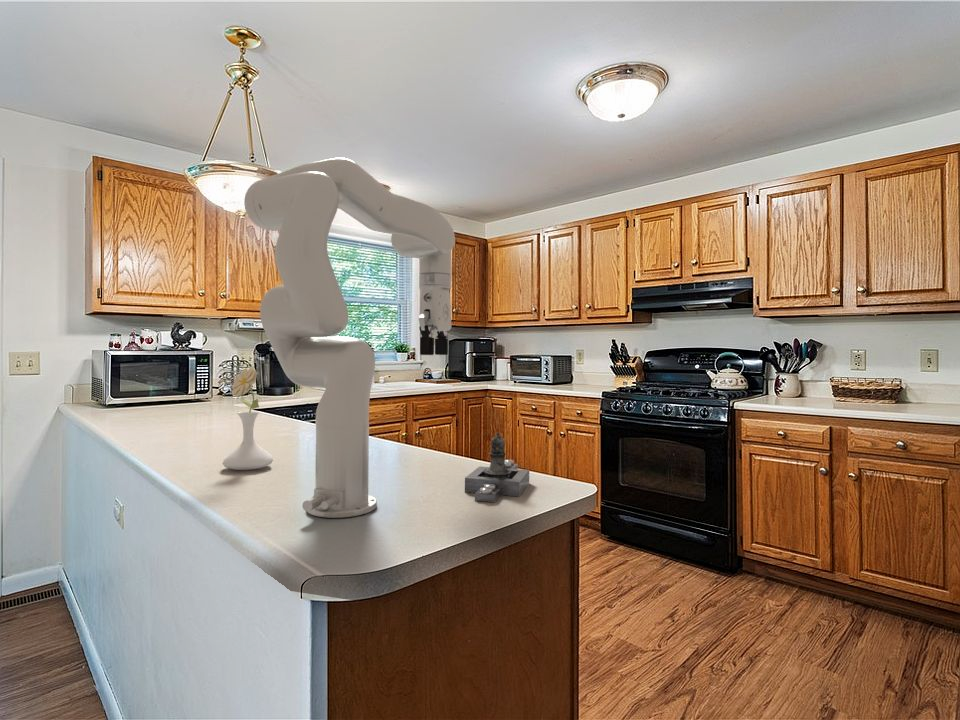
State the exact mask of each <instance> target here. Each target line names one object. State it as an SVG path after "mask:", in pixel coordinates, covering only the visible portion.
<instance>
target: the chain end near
mask: <svg viewBox="0 0 960 720" xmlns="http://www.w3.org/2000/svg"><path fill="white" fill-rule="evenodd" d="M485 477H486V476H485ZM509 479H512V477H509ZM529 484H530V477H529V478H528V479H527V480H526V482H525V483H524V484H523V485H522V487H521V488H520V489H508V488H495V486H496V485H494V484H485V485H484V487H483V486H471V485H465V484H464V493H468V492H473V493H472V494H474V501H475V502H482V501H487V502H486V503H493V502H495V501H496V502H497V501H498V500H499V498H501V497H502V496H503V495H508V496H507V497H515V496H519V497H520V496H521V495H522V494H523V493H524V491H525V490H526V489H527V487H528V486H529ZM527 485H528V486H527ZM526 486H527V487H526ZM524 489H525V490H524ZM521 493H522V494H521ZM496 502H495V503H496Z"/></svg>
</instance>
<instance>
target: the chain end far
mask: <svg viewBox="0 0 960 720" xmlns="http://www.w3.org/2000/svg"><path fill="white" fill-rule="evenodd" d="M518 464H519V463H515V461H514V460H513V459H505V467H506V469H508V470H510V471H511V473H510V476H509V477H512V479H505V478H491V477H485V473H484V470H486V469H488V468H489V467H490V466H482V465H481V466H478V467H477V468H475V469H474V470H473V471H472V472H471V473H469V474H467V476H465V477H464V486H465V485H471V486H483V487H484V485H485V484H494V485H496V486H495V488H508V489H520V488H521V487H522V485H523V484H524V483H525V482H526V480H527V479H528V478H529V479H530V469H520V468H519V465H518Z"/></svg>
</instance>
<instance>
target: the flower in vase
mask: <svg viewBox="0 0 960 720" xmlns="http://www.w3.org/2000/svg"><path fill="white" fill-rule="evenodd" d="M257 375H258V372H257V370H256V369H255V367H252V366H250V367H249V368H247V367H244V369H243V370H241V372H240V373H238V374H236V378H235V379H234V382H233V384H232V385H231V388H232V390H231V395H233V396H234V397H235V398H237V397H238V398H239V397H241V398H240V399H241V400H240V401H241V403H243V404H244V405H246V406H247V407H249V410H244V411H238V412H237V415H238V416H239V418H240V420H241V422H242V430H243V431H242V433H243V434H242V435H243V437H242V441H241V444H240V445H238V447H236V448H235V449H234V450H232V452H230V453H229V454H228V455H227V456H226V457H225V458H224V459H223V462H222V465H223V467H224V468H225V469H226V468H227V469H229V470H233V471H234V470H235V471H250V470H251V471H252V470H257V469H263V468H265V467H267V466H270V465H272V463H273V461H274V459H273V458H274V457H273V456H272V455H271V454H270V453H269V452H268V451H266V450H265V449H264V448H262V447H261V446H260V445H258V444H257V443H256V441H255V440H254V439H255V438H254V428H255V422H256V419H257V417H258V415H259V414H260V411H257V410H253V409H257V408H259V407H260V405H259V399H258V398H255V395H254V392H253V389H252V387H253V384H256V380H257V377H258V376H257ZM249 391H250V393H251V396H252V402H250V401H248V400H246V399H245V398H244V397H243V396H245V394H246V393H248V392H249Z"/></svg>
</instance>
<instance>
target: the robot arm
mask: <svg viewBox="0 0 960 720" xmlns="http://www.w3.org/2000/svg"><path fill="white" fill-rule="evenodd" d="M243 200H244V209H245V212H246V214H247V217H248V218H249V219H250V221H251V222H252V223H253V224H254V225H256V227H259V228H260V229H262V230H264V231H265V230H267V231H279V233H278V237H277V240H276V244H275V249H274V259H275V265H276V269H277V271H278V274H279V276H280V280H281V283H282V284H279V285H277V286H273V287H272V288H270V289H269V290H267V292H266V293H265V294H264V296H263V297H262V299H261V301H260V306H259V307H260V309H259V312H260V313H259V314H260V315H259V316H260V322H261V325H262V327H263V330H264V333H265V335H266V337H267V340H268V342H269V344H270V346H271V348H272V350H273V352H274V354H275V356H276V358H277V360H278V362H279V364H280V367H281V368H282V370H283V372H284V374H285V376H286V377H287V378H288V379H289V380H290V381H291V382H292V383H293V384H295V385H297V386H299V387H305V388H321V389H324V392H323V394H322V396H321V397H320V399H319V402H318V404H317V407H316V410H315V411H316V412H315V488H314V489H313V496H312V497H310V498H308V499H306V500H304V501H303V502H302V508H303V511H305V512H307V513H308V514H309V515H311V516H315V517H320V518H326V519H327V518H329V519H344V518H350V517H351V518H352V517H357V516H361V515H364V514H369V513H371V512H372V511H374V510H375V509H376V508H377V506H378V503H377V501H378V500H377V499H376V498H375V497H374V496H373V495H369V483H370V482H369V479H370V478H369V477H370V475H369V470H370V469H369V468H370V467H369V465H370V464H369V463H370V462H369V459H370V456H369V454H370V453H369V452H370V447H369V446H370V423H369V422H370V398H371V389H372V384H373V380H374V375H375V368H376V357H375V353H374V350H373V349H372V347H371V346H370V345H369V344H368V343H367V342H366V341H364V340H362V339H359V338H357V337H351V336H335V335H338V334H340V333H342V332H343V331H344V330H345V329H346V328H347V325H348V323H349V318H350V317H349V311H348V306H347V304H346V301H345V298H344V295H343V293H342V290H341V287H340V285H339V283H338V279H337V276H336V274H335V272H334V269H333V266H332V263H331V261H330V260H331V259H330V256H329V251H328V239H329V235H330V234H329V233H330V229H331V227H332V223H333V221H334V219H335V217H336V215H337V212H338V209H339V210H341V211H343V212H344V213H345V214H347V215H349V216H350V217H352V218H353V219H354V220H356V221H357V222H359V223H360V224H362V225H363V226H364V227H366V228H367V229H368V230H371V231H374V232H378V233H382V234H388V235H391V236H390V242H391V246H392V248H393V250H394V251H395V252H396V254H398V255H400V256H401V257H404V258H409V259H411V258H413V259H419V269H418V270H419V275H418V276H419V277H418V279H419V280H418V281H419V282H418V284H419V285H418V287H419V288H418V289H419V290H420V298H419V299H420V300H419V317H418V321H419V323H418V324H419V327H418V328H419V331H420V332H419V338H420V339H419V341H420V342H419V354H420V355H421V356H433V355H435V356H437V355H438V356H447V355H448V354H449V331H450V330H451V329H452V304H451V295H450V294H451V293H450V290H452V250H453V248H454V246H455V242H456V237H455V236H456V235H455V231H454V229H453V227H452V225H451V224H450V222H449V221H448V219H446V217H445V216H444V215H442V213H440V212H439V211H438V210H437V209H435V207H434V208H433V207H432V206H430V205H428V204H425V203H424V202H420V201H416V200H414V199H411V198H408V197H406V196H402V195H398V194H397V193H393V192H391V191H390V190H389V189H387V188H386V187H385V186H384V185H383V184H382V183H381V182H379V181H378V180H377V179H375V178H374V177H373V176H372V175H371V174H370V173H369V172H367V171H366V170H365V169H364V168H363V167H362V166H360V165H359V164H358V163H356V162H355V161H353V160H351V159H349V158H345V157H335V158H329V159H323V160H320V161H319V160H317V161H313V162H309V163H308V162H307V163H304V164H301V165H298V166H294V167H292V168H290V169H287V170H284V171H282V172H280V173H279V172H278V173H276V174H274V175H271V176H267V177H265V178H261V179H259V180H257V181H255V182H253V183H252V184H251V185H250V186H249V187H248V189H247V190H246V193H245V196H244V199H243ZM434 333H435V337H436V338H435V337H434Z"/></svg>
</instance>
